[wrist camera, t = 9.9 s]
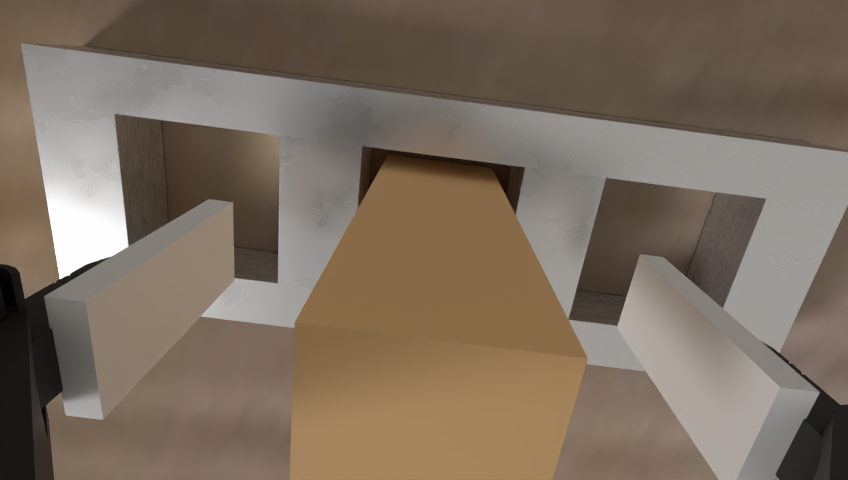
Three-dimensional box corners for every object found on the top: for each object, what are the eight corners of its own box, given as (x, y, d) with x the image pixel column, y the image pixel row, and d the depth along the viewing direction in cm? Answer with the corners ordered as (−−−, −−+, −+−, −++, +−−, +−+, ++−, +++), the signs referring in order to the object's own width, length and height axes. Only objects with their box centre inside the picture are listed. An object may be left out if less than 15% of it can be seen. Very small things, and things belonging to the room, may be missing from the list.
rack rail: (110, 270, 23) (63, 299, 20) (82, 46, 19) (20, 43, 16) (724, 346, 23) (764, 385, 20) (808, 142, 19) (870, 155, 17)
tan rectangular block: (378, 250, 22) (287, 532, 9) (388, 154, 20) (294, 322, 7) (474, 262, 22) (528, 560, 9) (491, 167, 20) (587, 358, 7)
